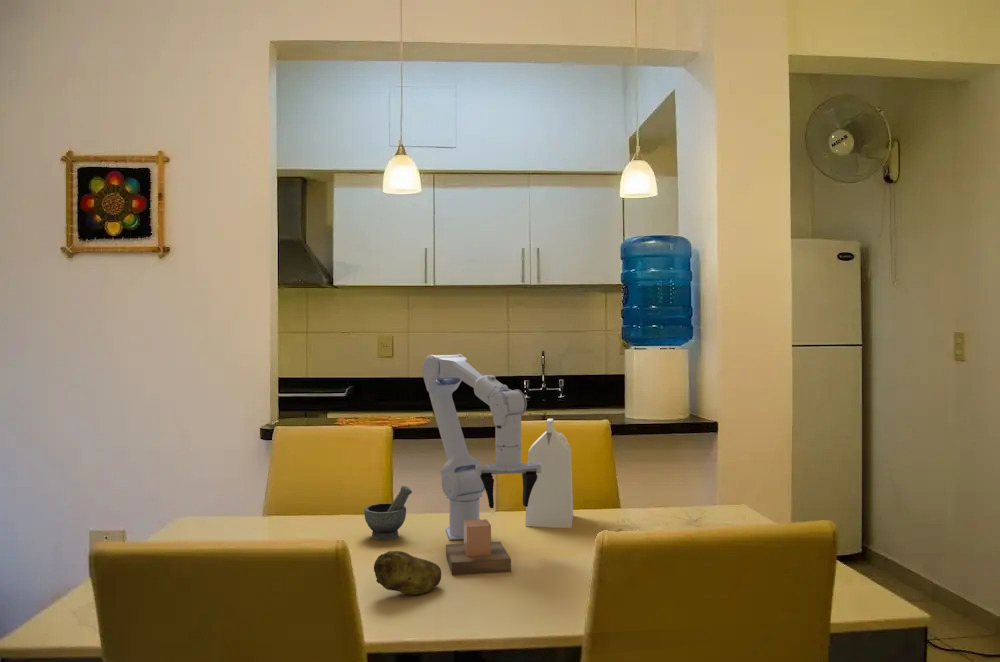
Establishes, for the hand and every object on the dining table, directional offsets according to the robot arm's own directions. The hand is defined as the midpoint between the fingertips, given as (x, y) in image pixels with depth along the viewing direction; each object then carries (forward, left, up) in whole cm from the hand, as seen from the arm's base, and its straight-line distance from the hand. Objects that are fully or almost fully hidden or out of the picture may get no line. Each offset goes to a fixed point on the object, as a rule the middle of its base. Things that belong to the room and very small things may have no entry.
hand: (508, 506), depth 155 cm
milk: (-23, +15, -10) cm, 29 cm away
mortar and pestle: (-16, -26, -10) cm, 32 cm away
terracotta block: (+7, -8, -7) cm, 13 cm away
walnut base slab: (+7, -8, -10) cm, 15 cm away
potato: (+21, -23, -10) cm, 33 cm away
